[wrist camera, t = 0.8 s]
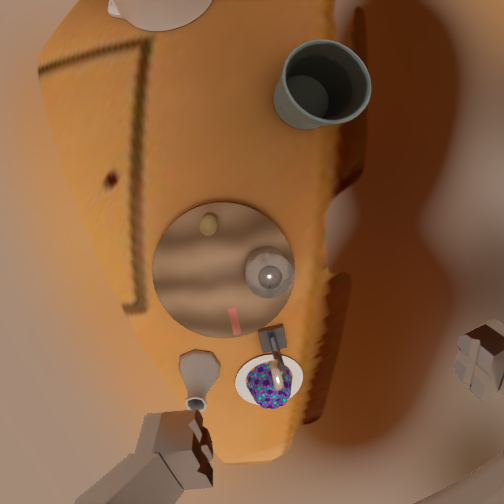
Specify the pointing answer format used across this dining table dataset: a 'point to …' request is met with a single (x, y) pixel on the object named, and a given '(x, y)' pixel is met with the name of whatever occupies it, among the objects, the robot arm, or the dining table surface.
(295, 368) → the pudding
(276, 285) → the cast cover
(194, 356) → the flask
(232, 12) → the dining table surface
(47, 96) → the dining table surface
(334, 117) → the grey green cup
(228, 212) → the turntable
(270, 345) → the grey knobbed rod
